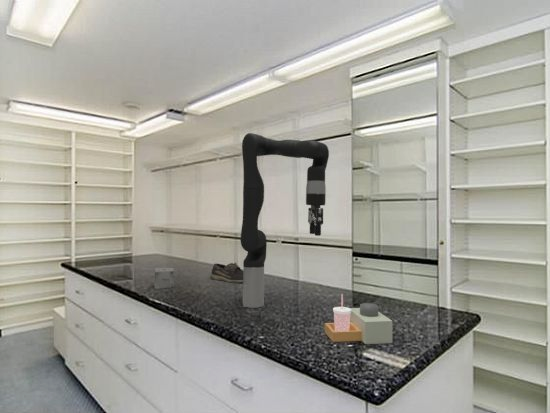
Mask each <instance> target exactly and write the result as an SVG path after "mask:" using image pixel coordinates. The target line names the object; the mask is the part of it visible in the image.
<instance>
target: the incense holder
mask: <svg viewBox="0 0 550 413" xmlns="http://www.w3.org/2000/svg"><path fill="white" fill-rule="evenodd" d="M174 270H175V269H174V267H171V266H170V267H155V268H154V290H159V289H172V288H174V287H175V286H174V280H175V279H174V278H175V277H174V275H175V273H174V272H175V271H174Z"/></svg>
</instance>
